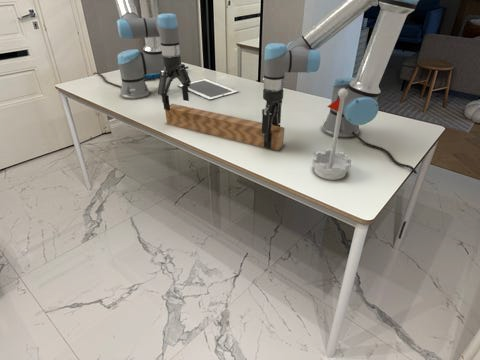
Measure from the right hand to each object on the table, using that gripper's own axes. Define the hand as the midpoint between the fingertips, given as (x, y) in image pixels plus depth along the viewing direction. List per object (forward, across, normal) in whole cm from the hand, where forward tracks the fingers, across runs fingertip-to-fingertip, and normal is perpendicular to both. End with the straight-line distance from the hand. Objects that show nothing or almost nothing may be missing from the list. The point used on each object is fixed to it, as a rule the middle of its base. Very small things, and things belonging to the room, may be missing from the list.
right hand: (270, 144), depth 138 cm
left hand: (-9, 0, -46) cm, 47 cm away
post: (+1, 0, -23) cm, 23 cm away
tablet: (+1, -48, -62) cm, 78 cm away
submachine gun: (+1, -61, -107) cm, 123 cm away
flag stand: (+1, +8, +27) cm, 28 cm away
